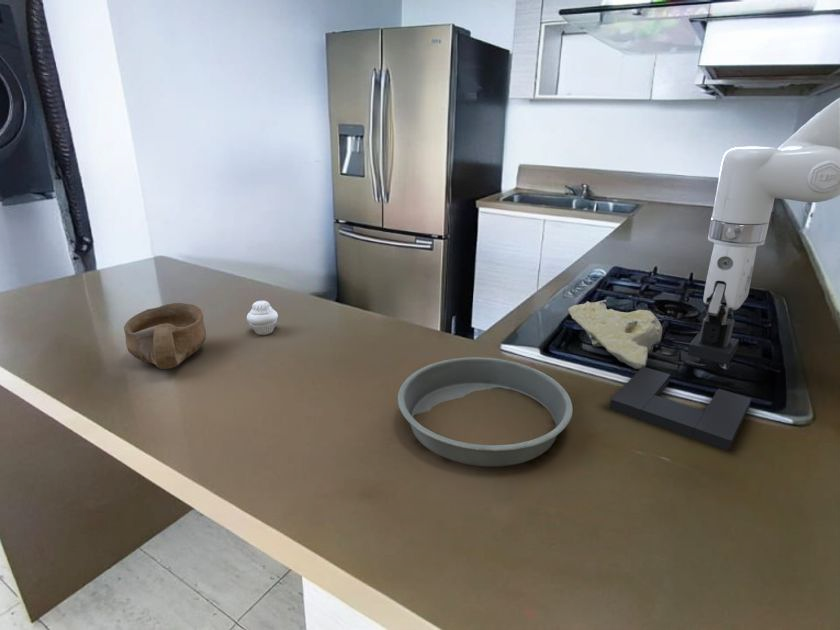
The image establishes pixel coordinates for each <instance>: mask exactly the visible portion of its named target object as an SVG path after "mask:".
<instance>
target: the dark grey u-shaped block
mask: <svg viewBox="0 0 840 630" xmlns="http://www.w3.org/2000/svg"><path fill="white" fill-rule="evenodd" d="M671 377H672V376H671V374H670V373H667V372H663V371H659V370H657V369H653V368H650V367H646V366H645V367H642V368H641V369H639V370H638V371H637V372H636V373H635V374H634V375H633V376H632V377H631V378H630V379H629V380H628V381H627V382H626V383H625V384H624V386H622V387H621V389H619V390H618V391H617V393H616V394H615V395H614V396H613V397H612V398H611V399H610V403H609V404H610V405H609V409H610V410H613V411H615V412H618V413H621V414H623V415H626V416H629V417H632V418H635V419H637V420H641V421H643V422H646V423H649V424H651V425H655V426H658V427H660V428H663V429H666V430H668V431H671V432H674V433H677V434H680V435H682V436H685V437H688V438H691V439H694V440H697V441H699V442H702V443H705V444H708V445H710V446H713V447H716V448H719V449H722V450H725V451H727V452H729V451H730V450H731V447H732V445H733V443H734V441H735V439H736V437H737V434H738V432H739V430H740V428H741V426H742V424H743V421H744V420H745V417H746V415H747V413H748V411H749V409H750V406H751V402H752V398H751V397H749V396H746V395H742V394H738V393H735V392H732V391H729V390H724V389H721V388H718V389H717V390H716V391H715V393H714V394H713V397H712V399H711V400H710V401H709V403H708V405H707V406H706V408H705V410H702V409H699V408H695V407H693V406H689V405H687V404H683V403H681V402H677V401H674V400H671V399H669V398H668V399H667V398H664V397H662V396H660V395H661V394H662V393H663V392H664V391H665V390H666V388H667V386H668V385H669V384H670V381H671Z"/></svg>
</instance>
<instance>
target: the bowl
mask: <svg viewBox="0 0 840 630" xmlns="http://www.w3.org/2000/svg"><path fill="white" fill-rule="evenodd" d="M123 331H124V335H125V345H126V349H127V351H128V353H130V355H132V356H133V357H134V358H136V359H137V360H140V361H142V362H145V363H148V364H154V365H155V366H156V367H157V368H158V369H161V370H170V369H173V368H176V367H177V366H179V365H180V364H182V362H183V361H185V360H186V359H187V358H189V357H191V356H192V355H193V354H194V353H196V352H197V351H198V350H199V349H200V348H201V347H202V346H203V345H204V343H205V341H206V338H207V330H206V325H205V321H204V313H203V311H202V309H201V308H200V307H199V306H197V305H195V304H189V303H185V302H173V303H166V304H163V305H160V306H158V307H157V306H156V307H153V308H152V307H151V308H147V309H145V310H143V311H141V312H139V313H137V314H135V315H133V316H132V317H130V318H129V319H128V320H127V321H126V323H125V324H124V326H123Z"/></svg>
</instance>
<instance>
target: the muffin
mask: <svg viewBox="0 0 840 630" xmlns="http://www.w3.org/2000/svg"><path fill="white" fill-rule="evenodd" d="M278 317H279V314H278V312H277V311H276V310H275V309H274V308H273V307H272V306H271V303H270V302H269V301H267V300H257V301H255V302H253V304H252V305H251V309H250V311H249V312H248V313H247V315H246V321H247V323H248V324H249V327H251V329H252V330H253V331H254V332H255V334H256V335H259V336H266V335H267V336H268V335H270V334H272V333H273V332H274V328H275V327H276V325H277V321H278Z"/></svg>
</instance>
